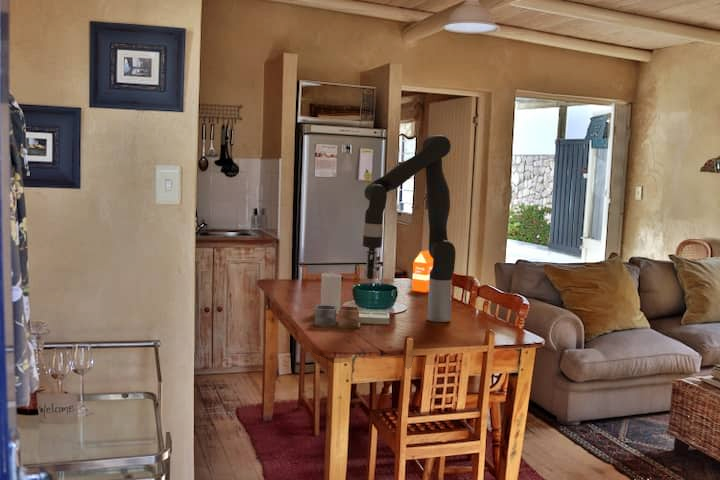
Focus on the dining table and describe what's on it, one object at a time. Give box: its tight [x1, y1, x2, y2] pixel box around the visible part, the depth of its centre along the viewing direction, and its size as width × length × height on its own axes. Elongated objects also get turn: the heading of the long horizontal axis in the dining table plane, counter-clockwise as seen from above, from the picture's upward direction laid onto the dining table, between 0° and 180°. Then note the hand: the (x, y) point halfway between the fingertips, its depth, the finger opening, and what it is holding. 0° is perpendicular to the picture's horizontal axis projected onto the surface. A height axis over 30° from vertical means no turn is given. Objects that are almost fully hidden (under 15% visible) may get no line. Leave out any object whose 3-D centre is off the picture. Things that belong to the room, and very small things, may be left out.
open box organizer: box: [312, 304, 361, 330], centre depth 269 cm, size 18×9×7 cm, turn 89°
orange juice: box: [411, 249, 433, 293], centre depth 348 cm, size 8×9×20 cm
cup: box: [320, 272, 342, 315], centre depth 290 cm, size 8×8×16 cm
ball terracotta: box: [364, 268, 377, 279], centre depth 273 cm, size 4×4×4 cm
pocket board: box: [359, 311, 390, 325], centre depth 278 cm, size 15×10×2 cm, turn 89°
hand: (370, 277), depth 274 cm, fingers closed on ball terracotta, 4 cm apart
